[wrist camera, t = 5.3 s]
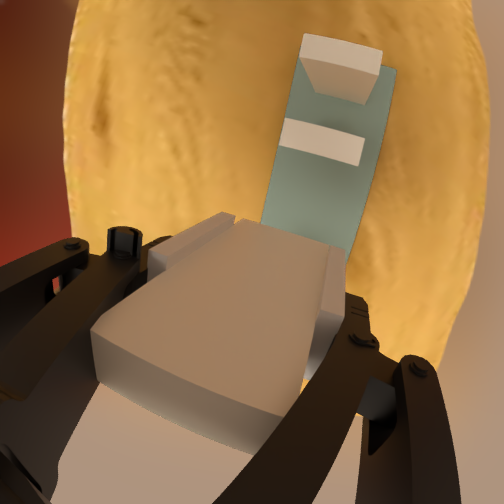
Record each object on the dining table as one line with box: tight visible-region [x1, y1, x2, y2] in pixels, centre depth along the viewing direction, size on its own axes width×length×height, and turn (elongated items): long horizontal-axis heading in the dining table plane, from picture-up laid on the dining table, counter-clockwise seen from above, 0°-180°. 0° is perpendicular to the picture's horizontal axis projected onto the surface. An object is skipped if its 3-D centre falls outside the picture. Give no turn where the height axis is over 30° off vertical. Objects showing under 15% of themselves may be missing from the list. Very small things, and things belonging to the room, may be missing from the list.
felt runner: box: [261, 46, 397, 266], centre depth 30 cm, size 32×10×1 cm, turn 168°
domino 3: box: [279, 118, 365, 166], centre depth 22 cm, size 2×5×12 cm, turn 78°
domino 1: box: [90, 218, 329, 455], centre depth 11 cm, size 2×5×12 cm, turn 77°
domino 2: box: [299, 33, 383, 105], centre depth 20 cm, size 2×5×12 cm, turn 78°
